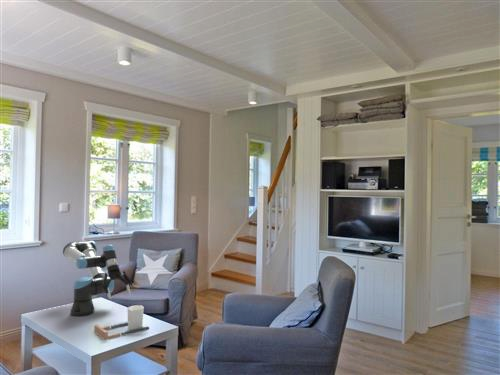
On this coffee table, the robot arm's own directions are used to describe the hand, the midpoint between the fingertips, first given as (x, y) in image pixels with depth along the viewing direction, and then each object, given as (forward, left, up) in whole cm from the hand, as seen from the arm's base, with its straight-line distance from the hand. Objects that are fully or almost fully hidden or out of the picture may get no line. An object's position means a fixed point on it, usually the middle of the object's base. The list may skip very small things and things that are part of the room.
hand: (119, 296), depth 245 cm
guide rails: (+19, -2, -15) cm, 25 cm away
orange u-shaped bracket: (+19, -16, -15) cm, 29 cm away
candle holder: (+19, +2, -16) cm, 25 cm away
